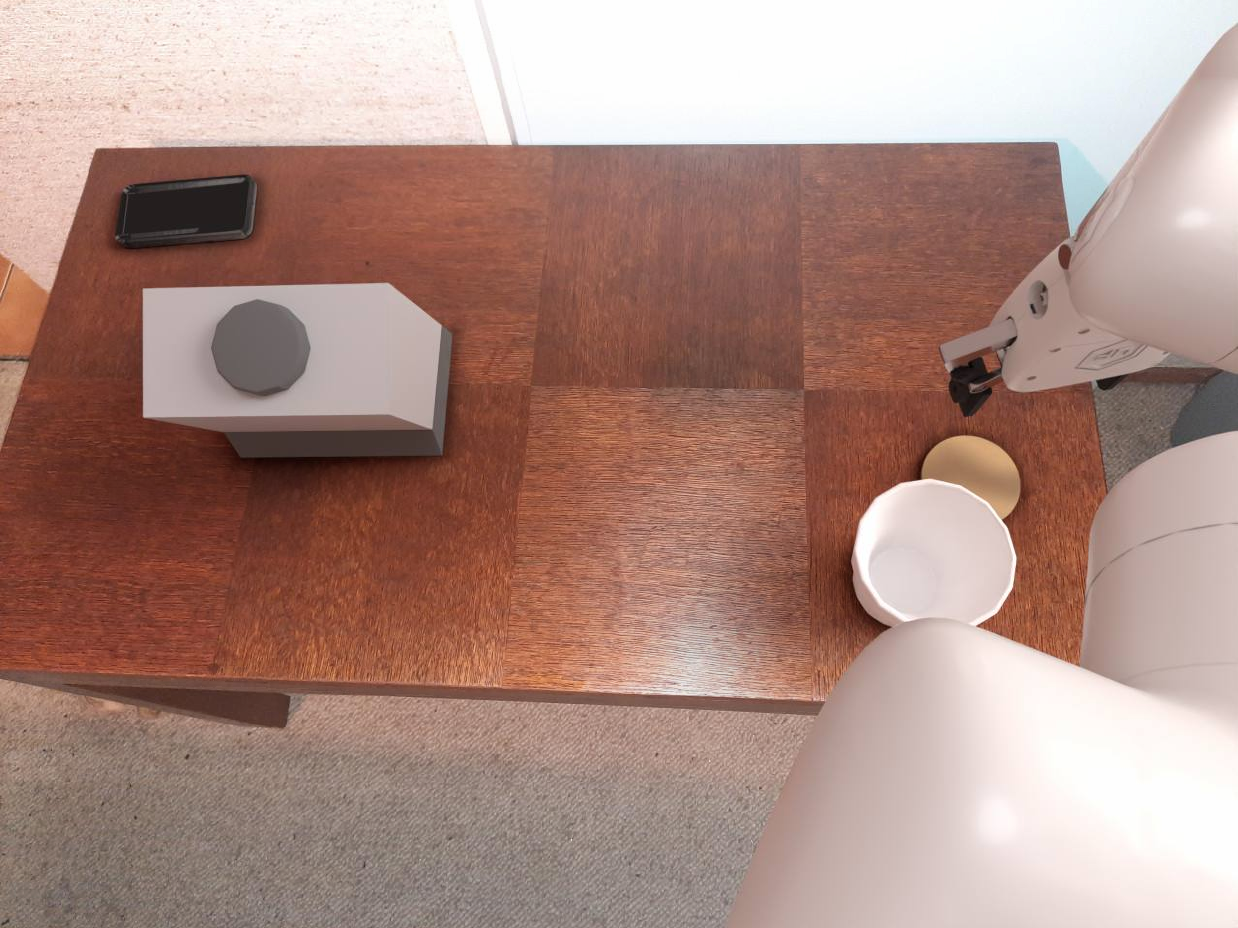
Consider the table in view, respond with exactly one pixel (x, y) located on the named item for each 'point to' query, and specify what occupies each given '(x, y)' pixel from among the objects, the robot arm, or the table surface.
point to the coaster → (976, 470)
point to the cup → (932, 555)
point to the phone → (186, 211)
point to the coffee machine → (298, 368)
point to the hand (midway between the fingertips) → (1029, 384)
